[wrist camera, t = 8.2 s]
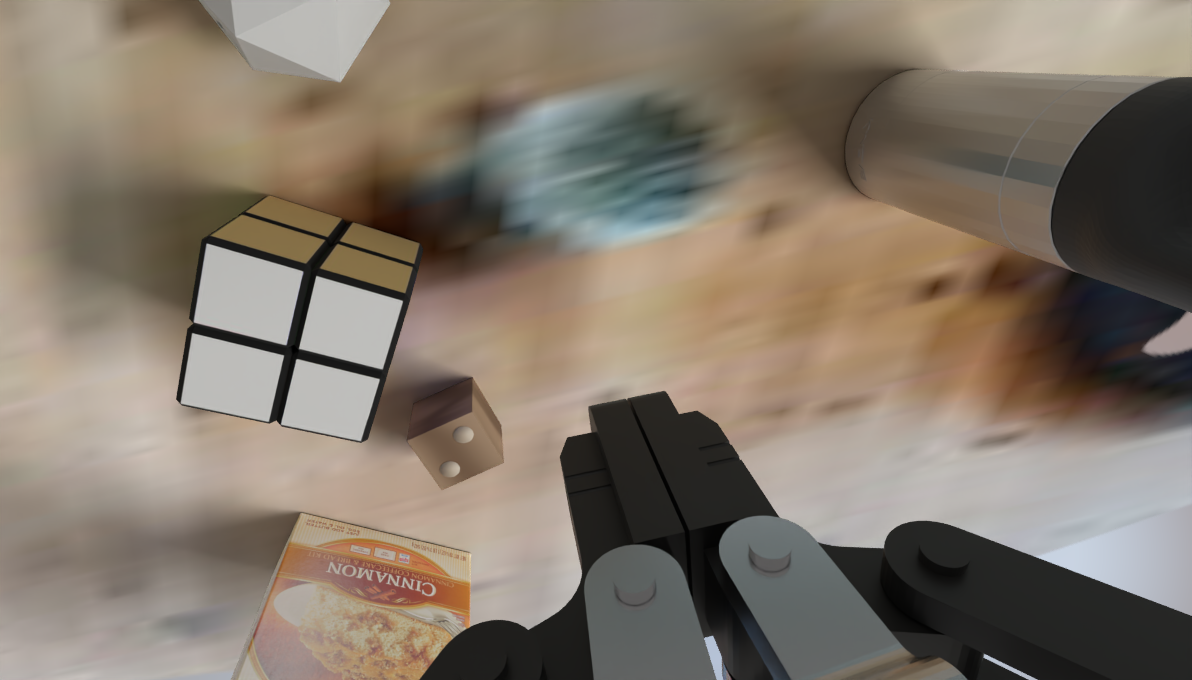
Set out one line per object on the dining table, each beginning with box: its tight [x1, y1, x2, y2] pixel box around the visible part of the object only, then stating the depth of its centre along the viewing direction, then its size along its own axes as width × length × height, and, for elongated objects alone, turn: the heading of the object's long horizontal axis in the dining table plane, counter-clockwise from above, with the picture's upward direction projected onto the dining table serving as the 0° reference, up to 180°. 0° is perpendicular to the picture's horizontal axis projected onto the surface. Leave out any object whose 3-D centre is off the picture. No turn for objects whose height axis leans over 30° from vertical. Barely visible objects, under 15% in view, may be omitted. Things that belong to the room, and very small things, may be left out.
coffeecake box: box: [231, 513, 471, 680], centre depth 42 cm, size 15×7×20 cm, turn 61°
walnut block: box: [407, 377, 504, 490], centre depth 44 cm, size 5×5×5 cm
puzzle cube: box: [176, 195, 423, 443], centre depth 36 cm, size 10×10×10 cm
